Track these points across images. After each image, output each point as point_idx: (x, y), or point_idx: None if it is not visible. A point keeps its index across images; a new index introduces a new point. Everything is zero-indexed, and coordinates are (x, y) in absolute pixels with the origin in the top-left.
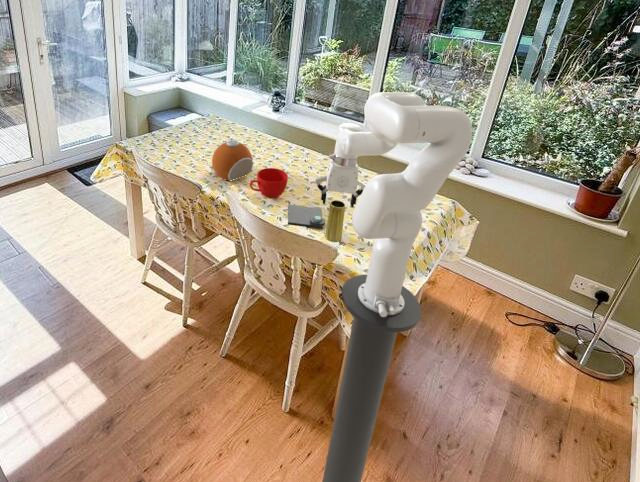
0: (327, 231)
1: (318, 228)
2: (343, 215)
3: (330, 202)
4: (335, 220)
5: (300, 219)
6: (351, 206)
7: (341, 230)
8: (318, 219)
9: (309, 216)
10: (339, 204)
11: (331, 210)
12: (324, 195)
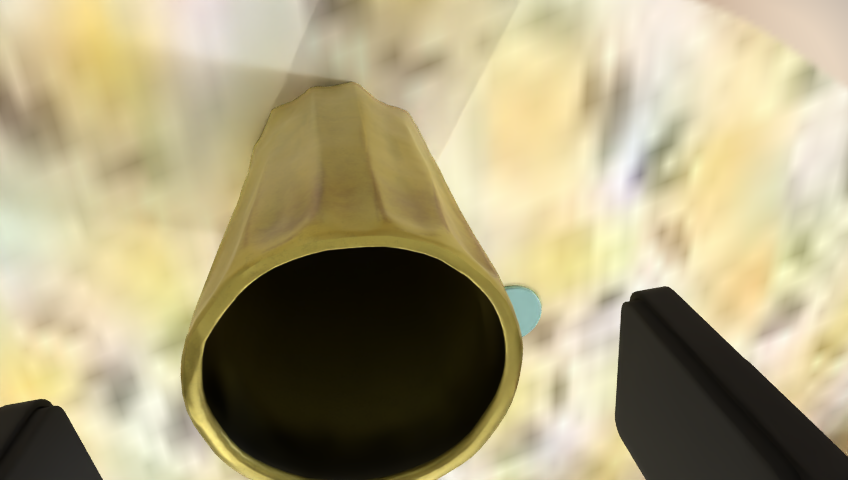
0: (408, 113)
1: None
2: (226, 229)
3: (519, 372)
4: (345, 133)
5: None
6: (42, 411)
7: (257, 146)
8: (506, 289)
9: None
10: (329, 429)
11: (453, 224)
12: (823, 441)
